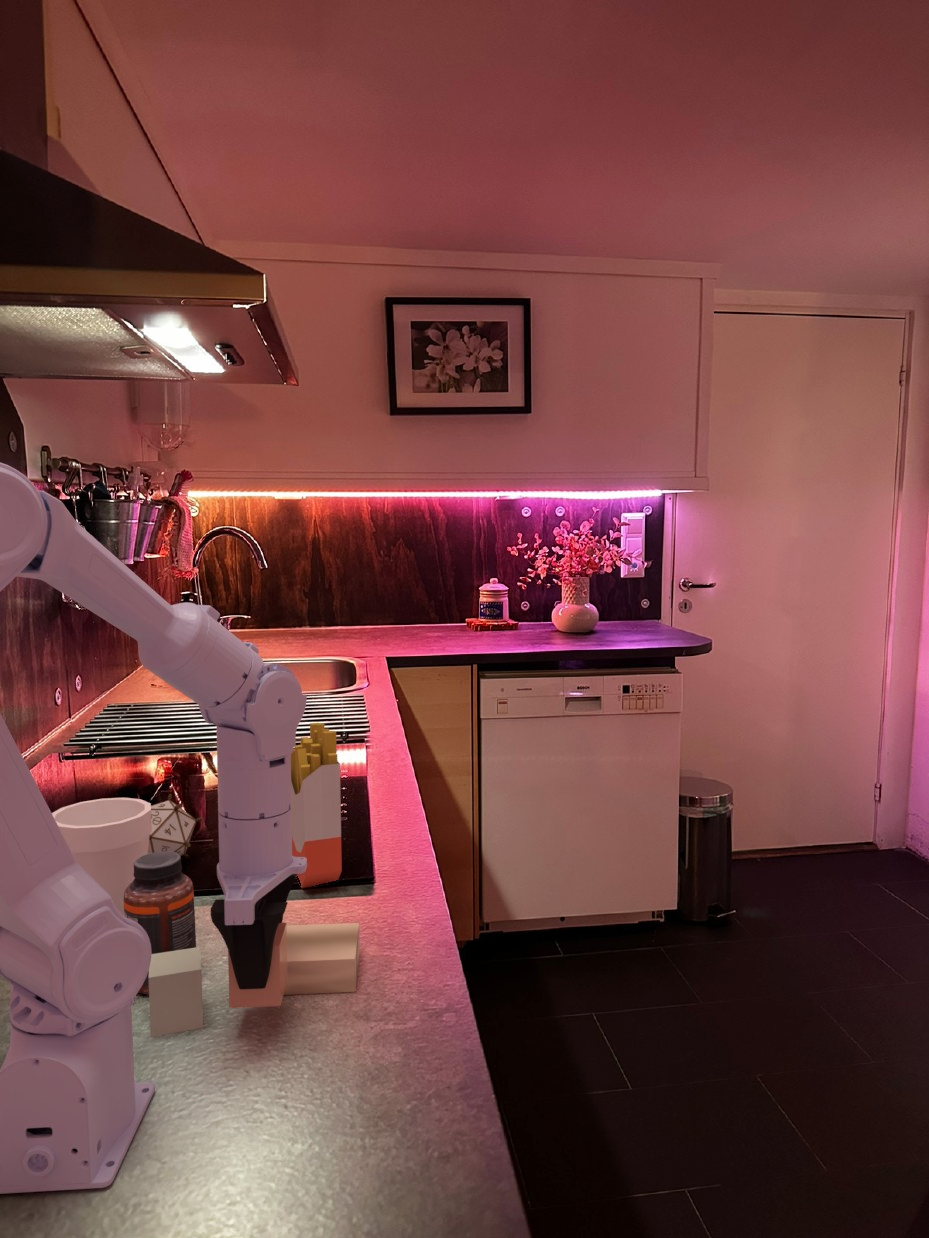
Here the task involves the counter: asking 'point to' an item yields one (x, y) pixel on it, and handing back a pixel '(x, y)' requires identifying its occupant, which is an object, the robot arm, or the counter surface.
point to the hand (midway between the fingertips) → (258, 971)
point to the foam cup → (107, 839)
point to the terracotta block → (275, 980)
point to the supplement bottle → (162, 903)
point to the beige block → (175, 992)
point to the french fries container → (316, 806)
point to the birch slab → (322, 958)
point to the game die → (170, 828)
